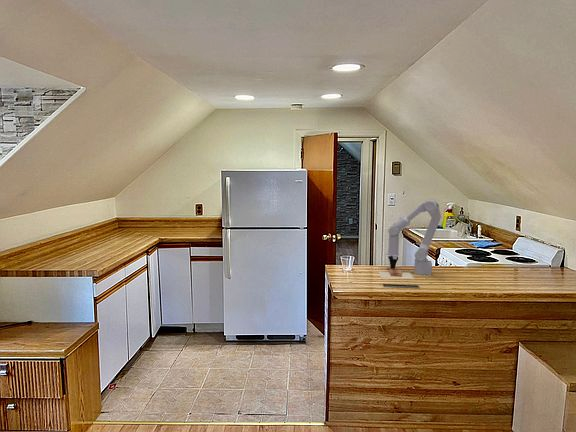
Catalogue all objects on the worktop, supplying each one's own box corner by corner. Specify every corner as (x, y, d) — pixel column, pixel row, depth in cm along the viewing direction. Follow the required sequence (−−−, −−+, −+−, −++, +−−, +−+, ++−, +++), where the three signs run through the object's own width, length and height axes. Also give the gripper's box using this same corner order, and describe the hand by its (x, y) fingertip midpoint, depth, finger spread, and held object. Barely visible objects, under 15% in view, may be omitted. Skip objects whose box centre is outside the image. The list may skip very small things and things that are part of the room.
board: (409, 274, 241) (409, 272, 241) (414, 280, 228) (414, 278, 228) (378, 273, 243) (378, 271, 243) (380, 279, 230) (380, 277, 230)
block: (399, 273, 240) (399, 269, 240) (402, 276, 232) (402, 273, 232) (389, 272, 241) (389, 269, 241) (391, 276, 233) (391, 272, 233)
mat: (414, 280, 228) (414, 280, 228) (419, 288, 215) (419, 287, 215) (380, 279, 230) (380, 279, 230) (383, 287, 216) (383, 286, 216)
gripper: (385, 243, 253) (384, 265, 255) (388, 248, 239) (387, 271, 240) (397, 243, 252) (396, 265, 254) (400, 248, 238) (399, 271, 240)
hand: (392, 268), depth 247 cm, fingers closed
